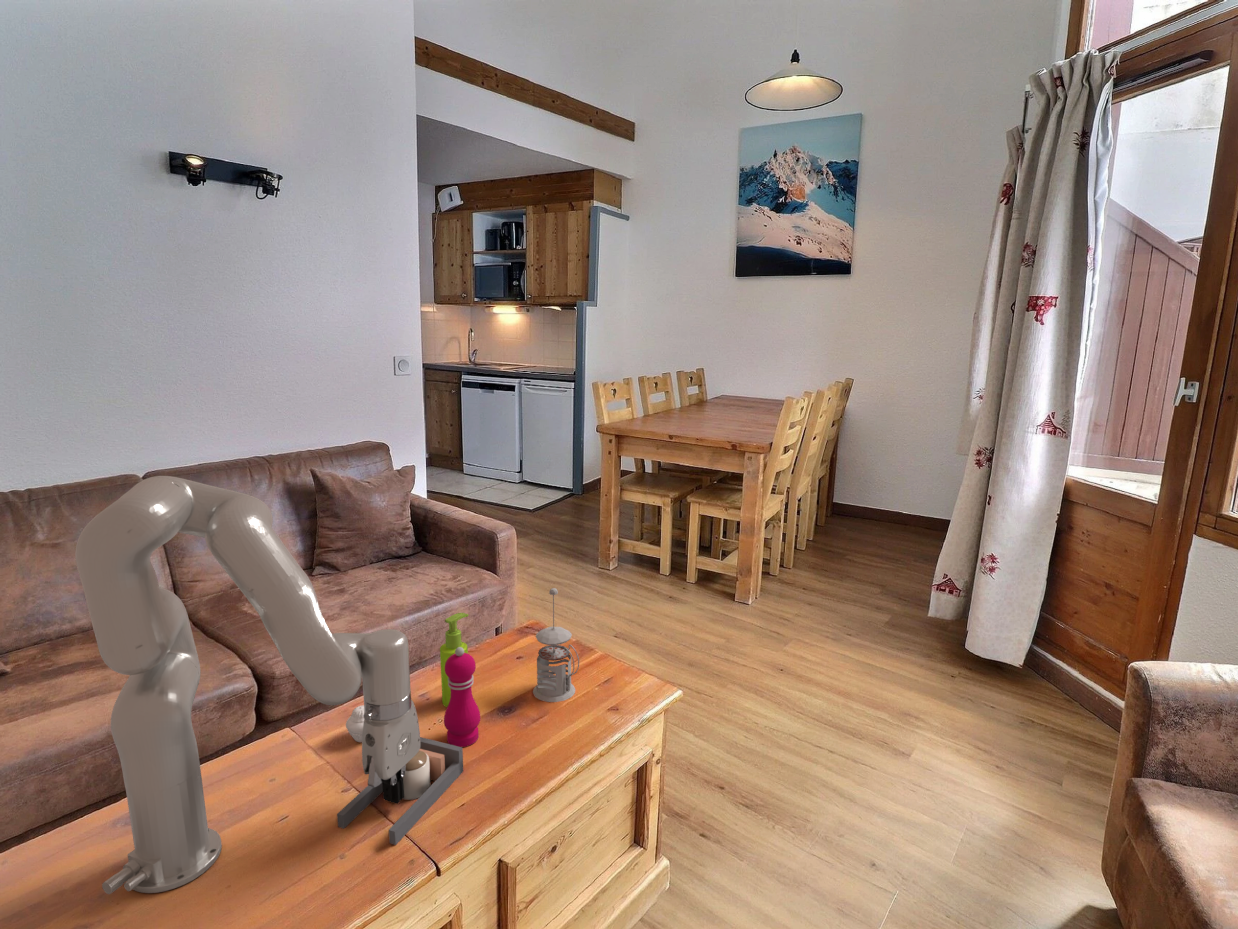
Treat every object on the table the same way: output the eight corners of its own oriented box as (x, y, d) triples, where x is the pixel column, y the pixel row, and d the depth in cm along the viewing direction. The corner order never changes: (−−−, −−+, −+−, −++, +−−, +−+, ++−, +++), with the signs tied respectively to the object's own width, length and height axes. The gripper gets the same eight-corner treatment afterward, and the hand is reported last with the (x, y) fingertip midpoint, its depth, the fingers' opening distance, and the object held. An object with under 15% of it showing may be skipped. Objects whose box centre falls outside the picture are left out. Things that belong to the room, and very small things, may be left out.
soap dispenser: (478, 697, 155) (475, 614, 151) (455, 711, 150) (452, 625, 146) (459, 689, 159) (456, 608, 154) (436, 703, 153) (432, 619, 149)
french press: (552, 675, 165) (551, 577, 160) (590, 691, 159) (590, 588, 154) (523, 692, 158) (522, 590, 152) (562, 709, 151) (562, 602, 146)
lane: (395, 845, 111) (394, 818, 110) (338, 827, 115) (335, 800, 114) (463, 771, 130) (462, 747, 129) (411, 757, 134) (410, 734, 133)
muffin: (346, 749, 136) (343, 717, 135) (347, 732, 142) (345, 701, 140) (379, 743, 138) (377, 712, 137) (379, 726, 144) (377, 696, 142)
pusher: (441, 783, 126) (440, 758, 125) (405, 773, 129) (403, 749, 128) (445, 779, 128) (444, 754, 126) (409, 769, 130) (407, 745, 129)
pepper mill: (472, 751, 136) (469, 658, 132) (438, 746, 137) (434, 654, 133) (486, 730, 143) (483, 641, 139) (454, 726, 144) (450, 637, 140)
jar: (417, 803, 121) (416, 772, 120) (389, 795, 123) (387, 765, 122) (437, 782, 127) (435, 753, 126) (409, 774, 129) (407, 746, 127)
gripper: (376, 732, 108) (383, 834, 111) (433, 686, 121) (437, 778, 125) (338, 722, 110) (345, 822, 114) (397, 678, 124) (403, 768, 128)
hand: (393, 799), depth 120 cm, fingers closed
